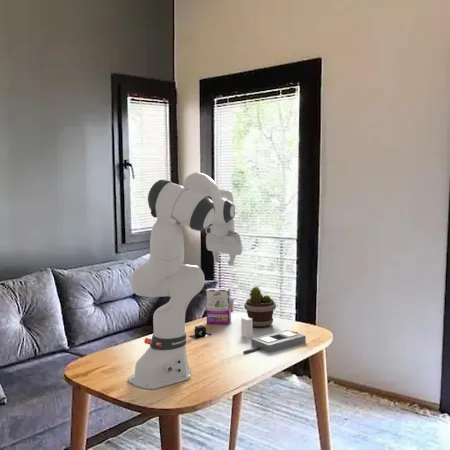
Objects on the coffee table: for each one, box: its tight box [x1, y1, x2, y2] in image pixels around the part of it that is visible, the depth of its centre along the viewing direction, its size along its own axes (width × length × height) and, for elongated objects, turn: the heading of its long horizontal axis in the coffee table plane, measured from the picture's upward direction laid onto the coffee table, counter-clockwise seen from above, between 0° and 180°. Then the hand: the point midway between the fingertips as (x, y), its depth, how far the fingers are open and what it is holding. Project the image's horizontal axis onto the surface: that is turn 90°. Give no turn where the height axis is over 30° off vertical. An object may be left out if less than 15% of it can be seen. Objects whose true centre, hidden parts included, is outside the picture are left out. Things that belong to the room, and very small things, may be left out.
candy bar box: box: [205, 287, 232, 325], centre depth 250 cm, size 11×5×16 cm, turn 81°
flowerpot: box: [243, 284, 277, 329], centre depth 244 cm, size 14×15×20 cm
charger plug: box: [240, 316, 254, 339], centre depth 228 cm, size 3×4×8 cm
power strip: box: [242, 329, 307, 354], centre depth 215 cm, size 28×11×4 cm, turn 126°
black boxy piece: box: [187, 324, 213, 340], centre depth 231 cm, size 12×7×5 cm, turn 130°
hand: (224, 263), depth 214 cm, fingers open, 8 cm apart
